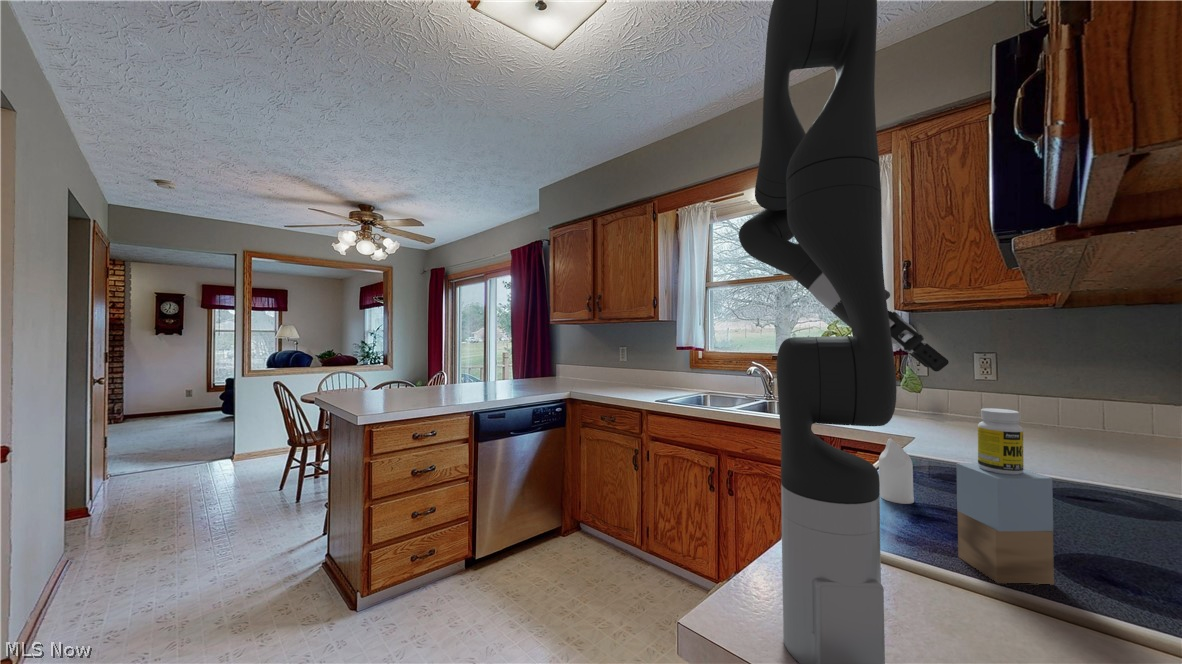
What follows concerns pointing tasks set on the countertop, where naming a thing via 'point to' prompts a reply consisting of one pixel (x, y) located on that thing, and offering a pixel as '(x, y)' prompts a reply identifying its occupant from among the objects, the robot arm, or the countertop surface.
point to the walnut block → (1006, 552)
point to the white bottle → (896, 474)
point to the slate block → (1005, 498)
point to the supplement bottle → (1000, 441)
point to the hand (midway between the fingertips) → (938, 365)
